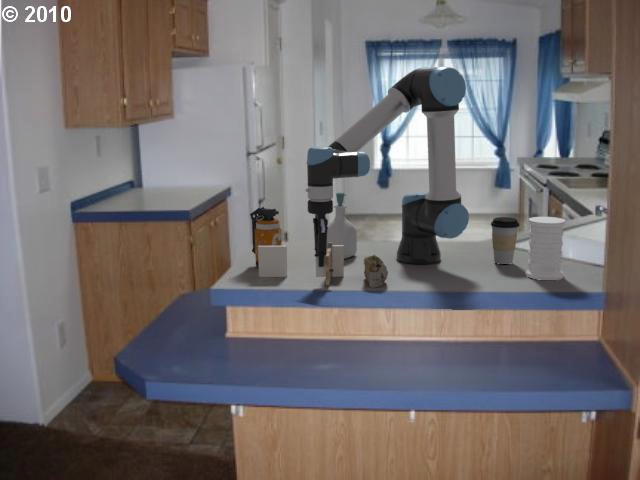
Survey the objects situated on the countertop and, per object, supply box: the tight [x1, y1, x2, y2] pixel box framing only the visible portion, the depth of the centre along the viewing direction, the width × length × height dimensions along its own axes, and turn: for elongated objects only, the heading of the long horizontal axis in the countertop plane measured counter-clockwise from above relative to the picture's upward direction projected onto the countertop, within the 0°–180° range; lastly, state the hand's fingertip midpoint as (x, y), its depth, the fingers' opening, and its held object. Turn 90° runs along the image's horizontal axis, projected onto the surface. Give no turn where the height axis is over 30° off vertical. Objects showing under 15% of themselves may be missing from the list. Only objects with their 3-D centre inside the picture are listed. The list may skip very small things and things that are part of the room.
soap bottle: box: [326, 192, 358, 260], centre depth 258 cm, size 10×10×23 cm
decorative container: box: [524, 216, 566, 281], centre depth 229 cm, size 12×12×18 cm
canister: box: [249, 206, 283, 268], centre depth 246 cm, size 9×11×20 cm
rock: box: [363, 254, 389, 289], centre depth 226 cm, size 12×7×10 cm, turn 2°
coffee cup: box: [490, 216, 521, 265], centre depth 247 cm, size 9×9×15 cm
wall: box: [258, 242, 345, 278], centre depth 233 cm, size 27×2×11 cm, turn 88°
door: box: [325, 248, 333, 286], centre depth 226 cm, size 11×2×9 cm, turn 175°
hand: (320, 276), depth 223 cm, fingers closed
